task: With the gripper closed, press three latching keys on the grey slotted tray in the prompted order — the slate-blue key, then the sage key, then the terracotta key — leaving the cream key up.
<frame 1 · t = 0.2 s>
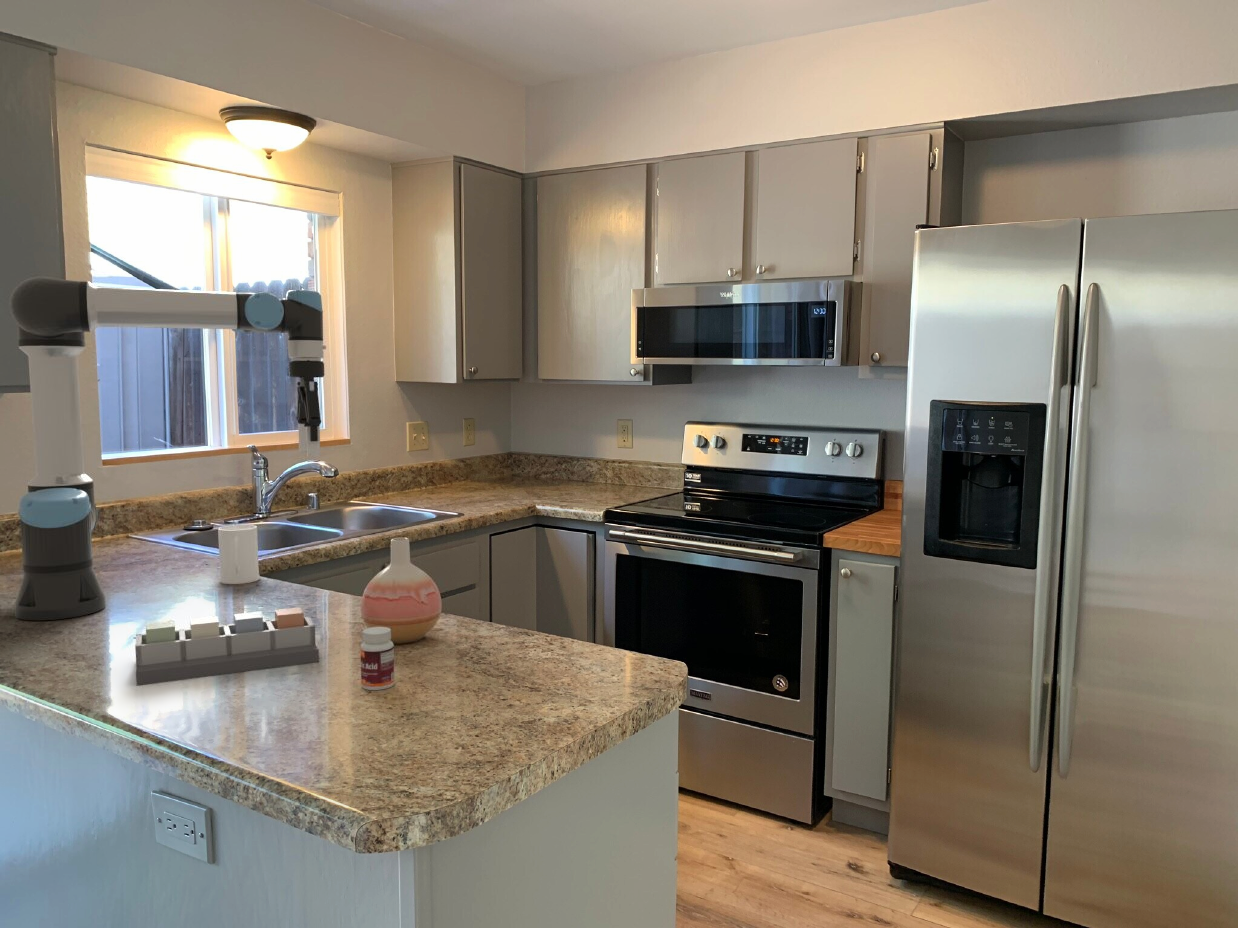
hand: (309, 454, 213), 28 cm above the worktop, fingers open, 13 cm apart
key cream: (204, 629, 148), point 6 cm above the worktop, slide at 0.0 cm
mug: (238, 582, 208), on the worktop
grey slotted tray: (228, 660, 150), on the worktop
pill bottle: (378, 686, 138), on the worktop
vase: (402, 640, 163), on the worktop
key rust: (289, 620, 154), point 5 cm above the worktop, slide at 0.0 cm
key slate: (248, 624, 151), point 5 cm above the worktop, slide at 0.0 cm
key sage: (160, 634, 146), point 6 cm above the worktop, slide at 0.0 cm
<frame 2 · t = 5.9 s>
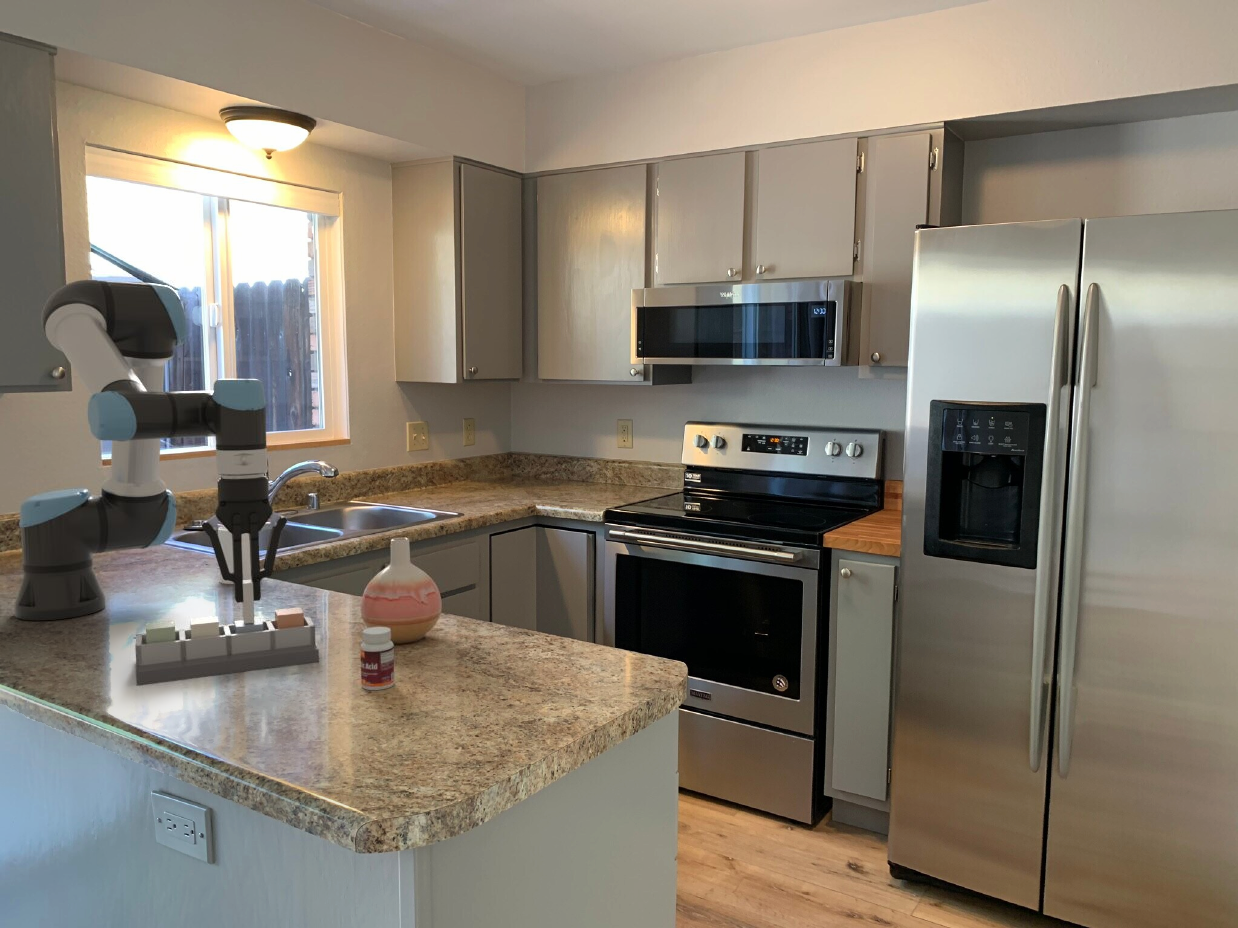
hand: (248, 620, 151), 6 cm above the worktop, fingers closed
key slate: (248, 631, 151), point 4 cm above the worktop, slide at 1.1 cm, touching gripper
everything else where it was.
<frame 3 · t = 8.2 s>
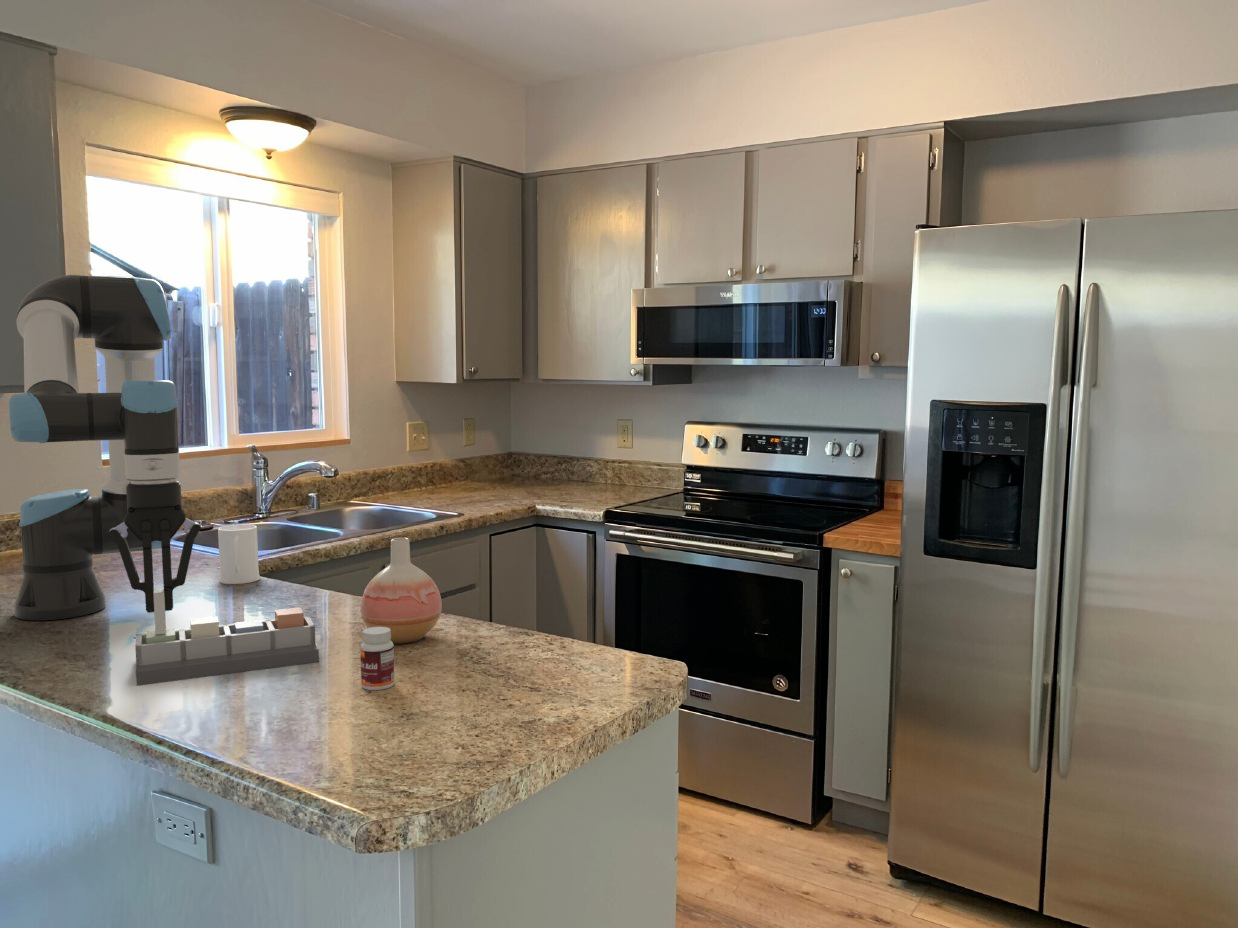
hand: (160, 631, 146), 6 cm above the worktop, fingers closed
key slate: (248, 633, 151), point 4 cm above the worktop, slide at 1.4 cm
key sage: (161, 642, 146), point 4 cm above the worktop, slide at 1.3 cm, touching gripper
everything else where it was.
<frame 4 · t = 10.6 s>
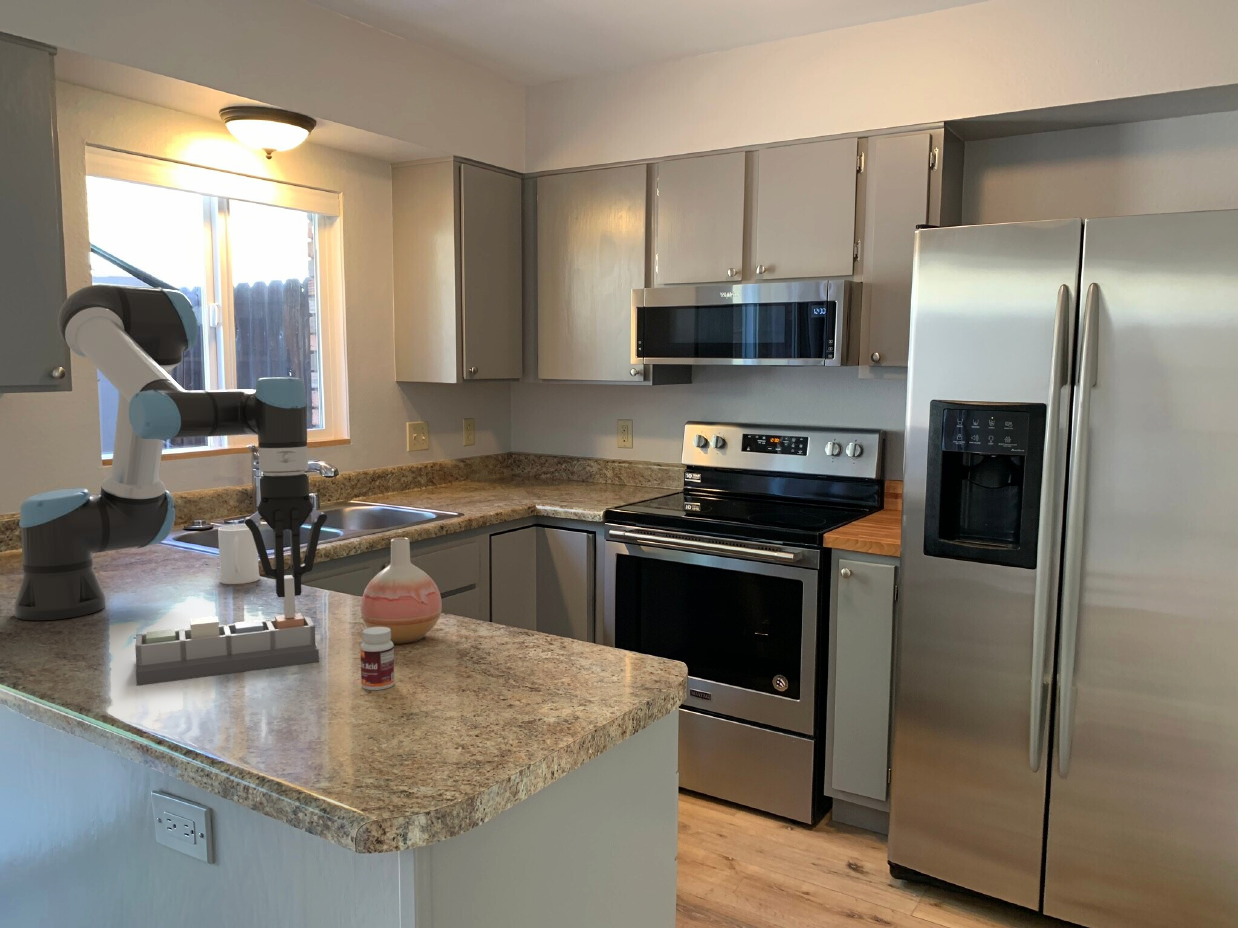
hand: (289, 615, 154), 6 cm above the worktop, fingers closed
key rust: (289, 625, 154), point 5 cm above the worktop, slide at 1.0 cm, touching gripper
key sage: (161, 643, 146), point 4 cm above the worktop, slide at 1.4 cm
everything else where it was.
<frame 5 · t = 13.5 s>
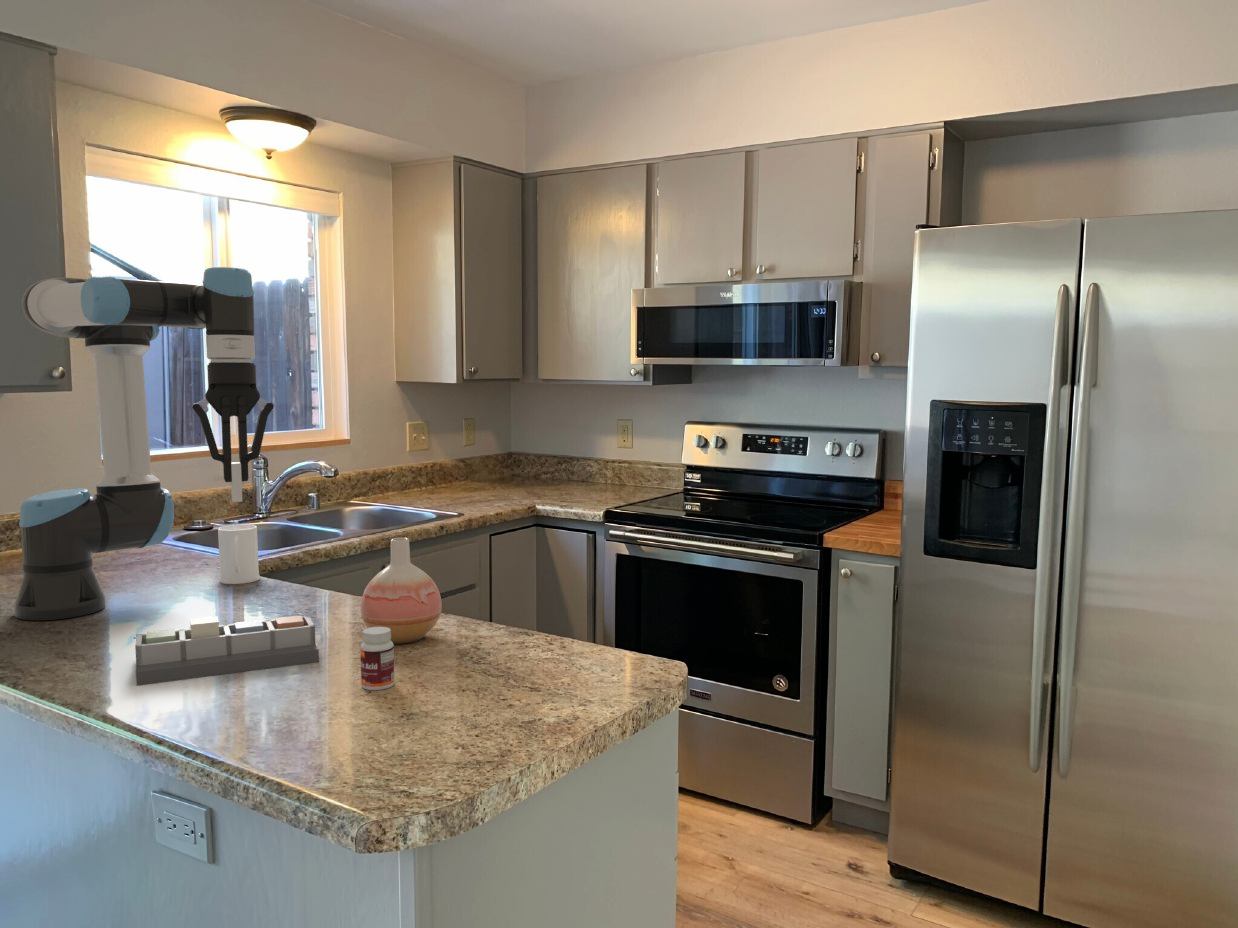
hand: (237, 500, 159), 24 cm above the worktop, fingers closed
key rust: (289, 628, 154), point 4 cm above the worktop, slide at 1.4 cm
everything else where it was.
at the end: key slate slide at 1.4 cm; key sage slide at 1.4 cm; key rust slide at 1.4 cm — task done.
